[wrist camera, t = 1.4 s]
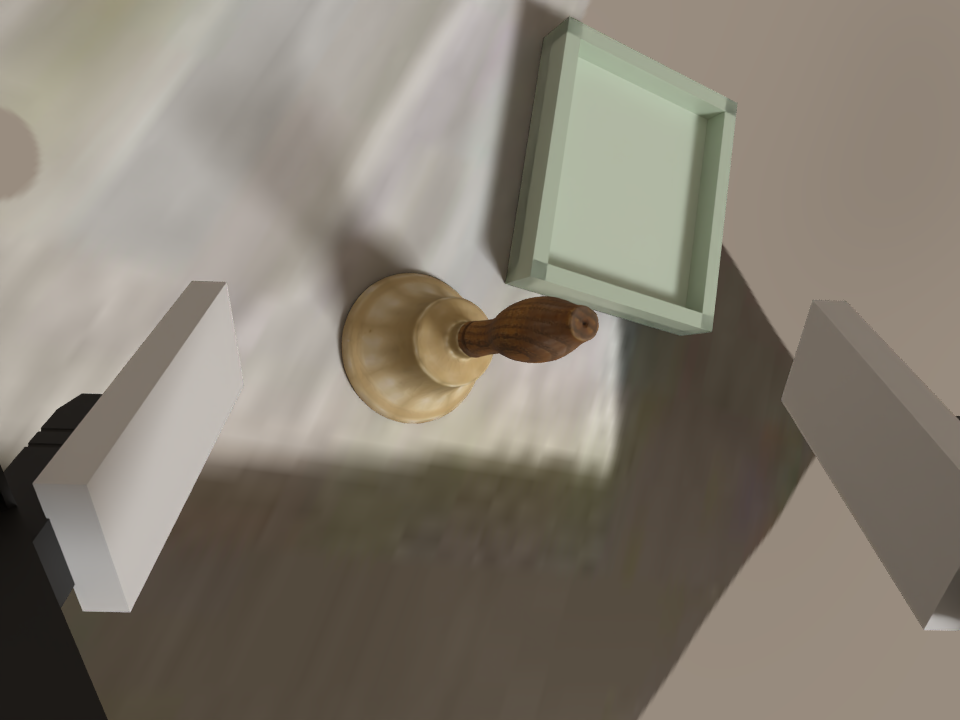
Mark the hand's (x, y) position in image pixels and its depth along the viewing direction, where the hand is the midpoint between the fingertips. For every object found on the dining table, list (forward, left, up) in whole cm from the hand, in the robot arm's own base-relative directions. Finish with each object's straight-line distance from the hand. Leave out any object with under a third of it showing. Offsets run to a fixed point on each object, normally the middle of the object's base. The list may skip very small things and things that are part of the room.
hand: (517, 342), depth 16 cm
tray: (-16, +18, -22) cm, 33 cm away
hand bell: (-3, +6, -23) cm, 24 cm away
